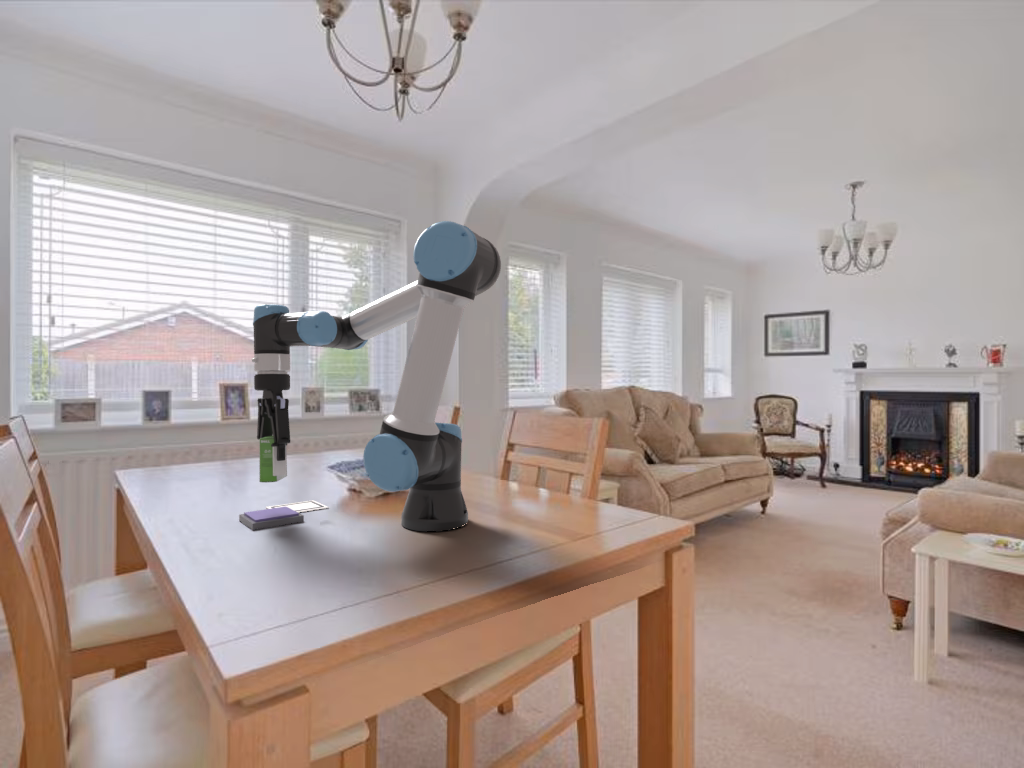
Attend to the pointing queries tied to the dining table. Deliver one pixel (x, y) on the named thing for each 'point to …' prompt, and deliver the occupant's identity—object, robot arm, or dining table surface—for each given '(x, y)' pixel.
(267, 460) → the ink box
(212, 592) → the dining table surface
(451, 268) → the robot arm
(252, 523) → the ink pad
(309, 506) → the print sheet
